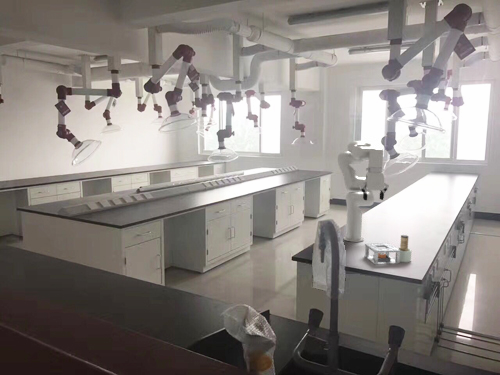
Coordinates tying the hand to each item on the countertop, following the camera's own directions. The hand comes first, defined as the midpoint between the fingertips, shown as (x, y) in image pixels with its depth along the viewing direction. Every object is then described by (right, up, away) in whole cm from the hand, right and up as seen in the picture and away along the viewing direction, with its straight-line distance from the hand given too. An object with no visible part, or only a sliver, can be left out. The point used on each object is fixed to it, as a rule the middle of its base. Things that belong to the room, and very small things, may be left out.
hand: (373, 199), depth 228 cm
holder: (+13, -33, -10) cm, 37 cm away
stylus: (+13, -32, -10) cm, 36 cm away
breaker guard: (+2, -33, -9) cm, 34 cm away
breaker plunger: (+2, -32, -9) cm, 34 cm away
